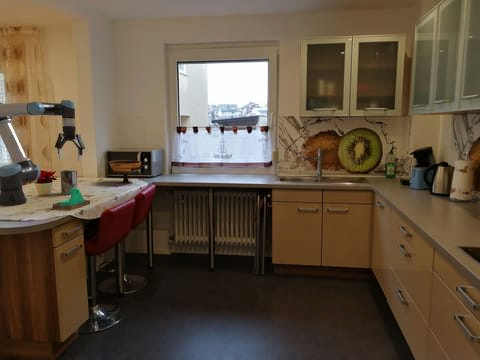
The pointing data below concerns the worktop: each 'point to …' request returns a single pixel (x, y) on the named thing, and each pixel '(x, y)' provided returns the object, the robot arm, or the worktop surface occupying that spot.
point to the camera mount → (74, 198)
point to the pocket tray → (70, 207)
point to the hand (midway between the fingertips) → (70, 160)
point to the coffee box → (68, 181)
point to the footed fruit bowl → (125, 168)
